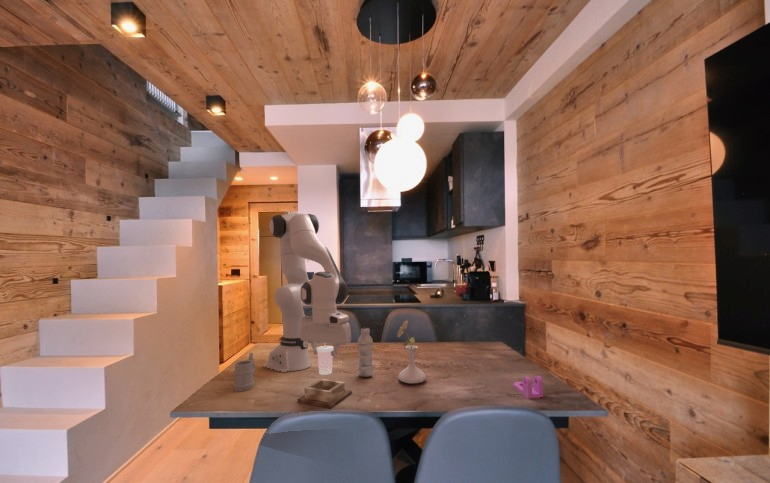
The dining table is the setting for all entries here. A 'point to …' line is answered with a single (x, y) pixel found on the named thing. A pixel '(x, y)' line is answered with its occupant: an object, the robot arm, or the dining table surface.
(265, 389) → the dining table surface
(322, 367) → the beverage cup
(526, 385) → the bracket
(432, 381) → the dining table surface
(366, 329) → the plastic bottle
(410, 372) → the flower in vase
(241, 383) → the mug
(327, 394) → the socket stand
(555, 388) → the dining table surface
